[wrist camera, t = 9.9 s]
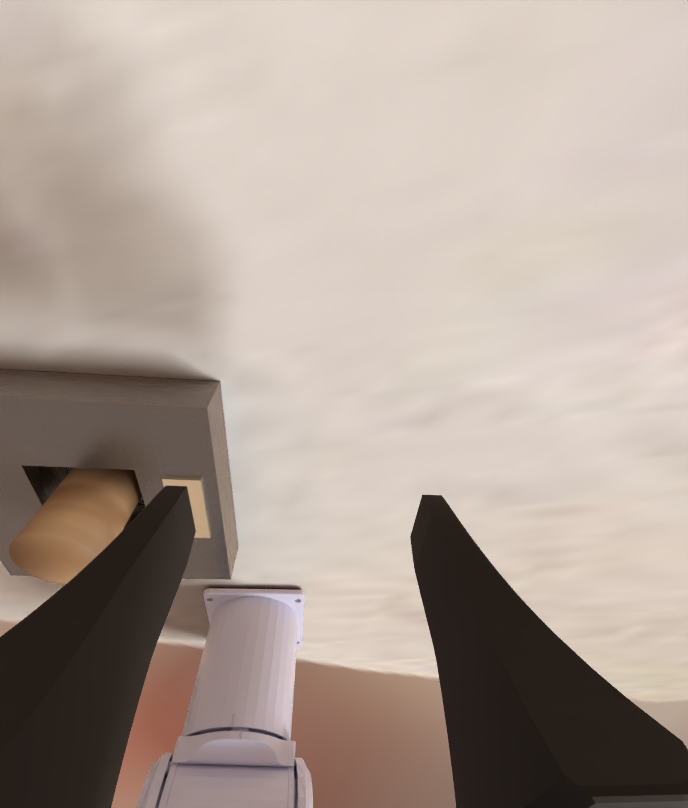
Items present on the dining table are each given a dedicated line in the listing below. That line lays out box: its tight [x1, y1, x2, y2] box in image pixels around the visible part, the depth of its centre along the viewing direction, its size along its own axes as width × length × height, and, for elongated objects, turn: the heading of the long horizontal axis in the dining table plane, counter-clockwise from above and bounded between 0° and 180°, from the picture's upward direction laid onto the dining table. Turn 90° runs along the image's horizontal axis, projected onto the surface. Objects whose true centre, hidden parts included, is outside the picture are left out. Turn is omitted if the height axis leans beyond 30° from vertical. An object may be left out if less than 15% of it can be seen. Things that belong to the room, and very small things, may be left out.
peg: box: [9, 468, 142, 584], centre depth 21 cm, size 4×4×6 cm
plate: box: [0, 369, 238, 579], centre depth 22 cm, size 14×14×3 cm
